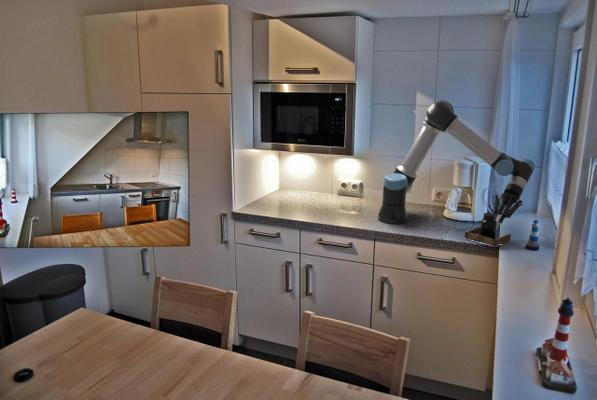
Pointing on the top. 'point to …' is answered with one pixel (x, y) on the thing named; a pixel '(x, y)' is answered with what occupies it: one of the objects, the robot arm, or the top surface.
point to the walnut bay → (473, 236)
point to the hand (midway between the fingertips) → (494, 227)
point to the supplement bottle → (488, 226)
